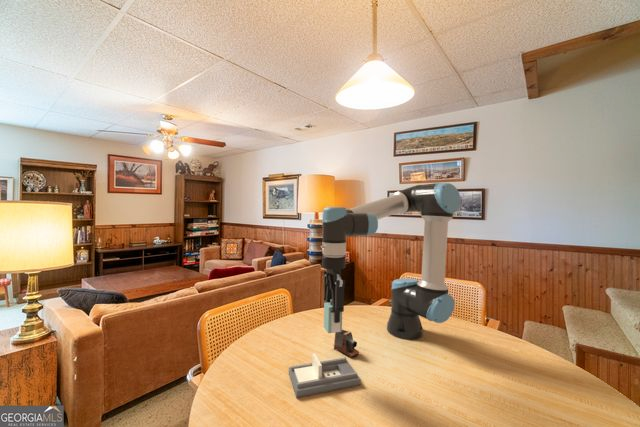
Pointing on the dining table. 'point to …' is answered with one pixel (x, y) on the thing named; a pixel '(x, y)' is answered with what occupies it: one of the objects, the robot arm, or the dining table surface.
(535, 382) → the dining table surface
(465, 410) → the dining table surface
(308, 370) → the shutter
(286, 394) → the dining table surface
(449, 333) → the dining table surface
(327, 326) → the teal bottle
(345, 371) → the socket board
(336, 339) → the electronic device
